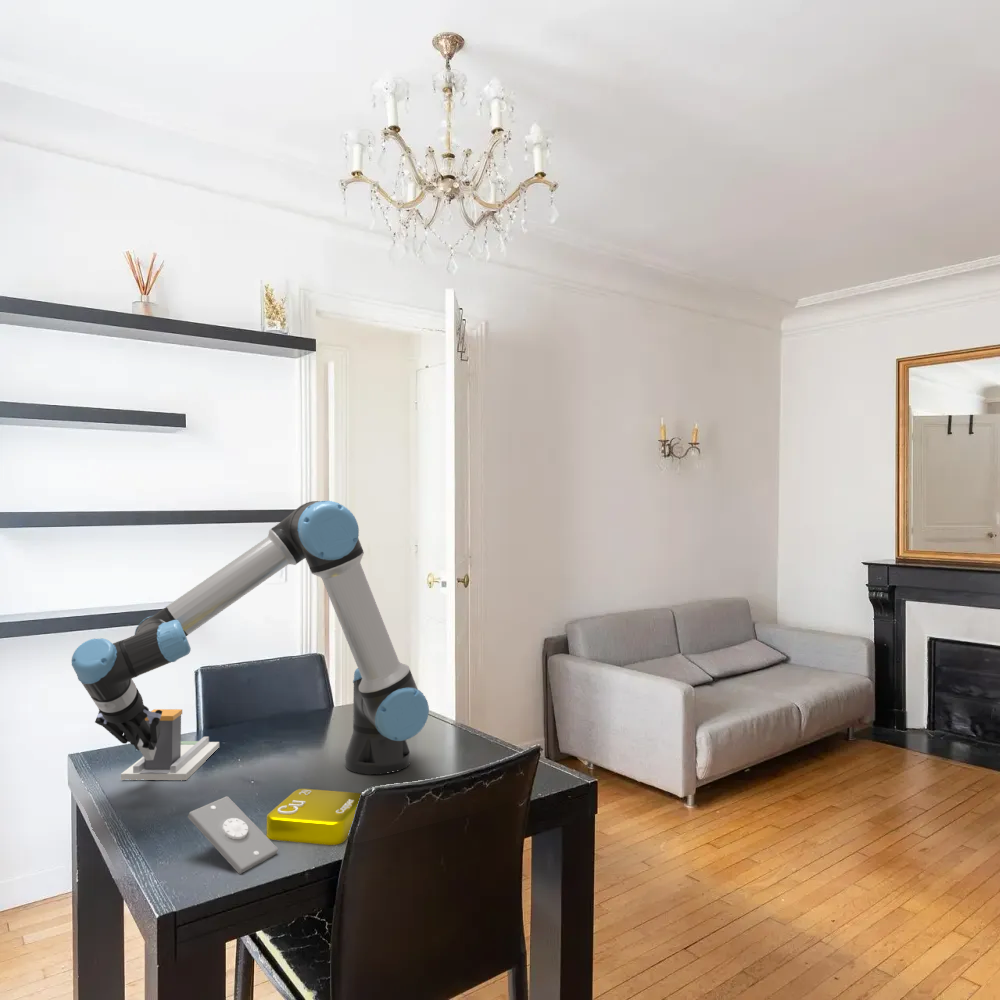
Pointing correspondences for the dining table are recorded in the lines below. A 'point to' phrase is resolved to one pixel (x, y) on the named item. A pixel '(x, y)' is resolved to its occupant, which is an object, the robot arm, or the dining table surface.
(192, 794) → the dining table surface
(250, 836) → the light switch
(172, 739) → the handle
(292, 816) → the element tile
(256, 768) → the dining table surface
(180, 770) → the railed base plate
